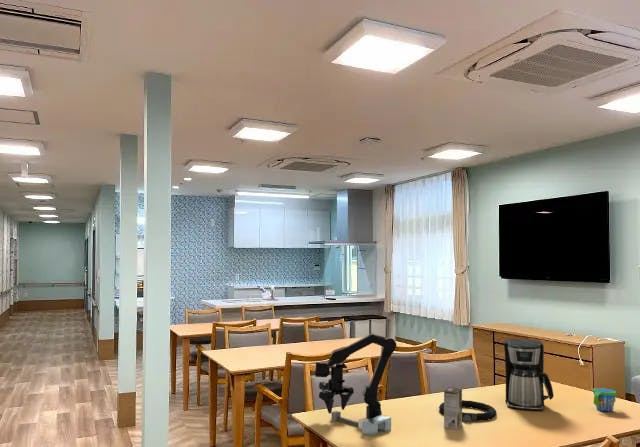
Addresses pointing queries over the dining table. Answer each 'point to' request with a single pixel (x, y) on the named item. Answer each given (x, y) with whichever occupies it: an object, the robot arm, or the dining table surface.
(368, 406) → the robot arm
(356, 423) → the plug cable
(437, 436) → the dining table surface
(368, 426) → the motor housing
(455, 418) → the coffee box
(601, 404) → the snack cup
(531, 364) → the coffee maker
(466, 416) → the cable lock
